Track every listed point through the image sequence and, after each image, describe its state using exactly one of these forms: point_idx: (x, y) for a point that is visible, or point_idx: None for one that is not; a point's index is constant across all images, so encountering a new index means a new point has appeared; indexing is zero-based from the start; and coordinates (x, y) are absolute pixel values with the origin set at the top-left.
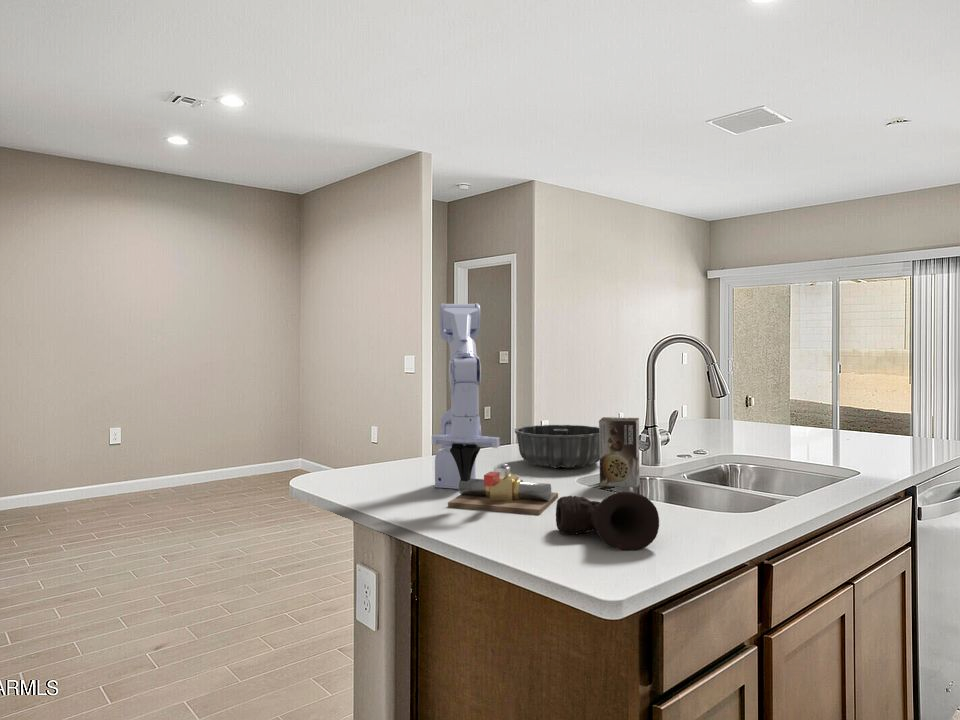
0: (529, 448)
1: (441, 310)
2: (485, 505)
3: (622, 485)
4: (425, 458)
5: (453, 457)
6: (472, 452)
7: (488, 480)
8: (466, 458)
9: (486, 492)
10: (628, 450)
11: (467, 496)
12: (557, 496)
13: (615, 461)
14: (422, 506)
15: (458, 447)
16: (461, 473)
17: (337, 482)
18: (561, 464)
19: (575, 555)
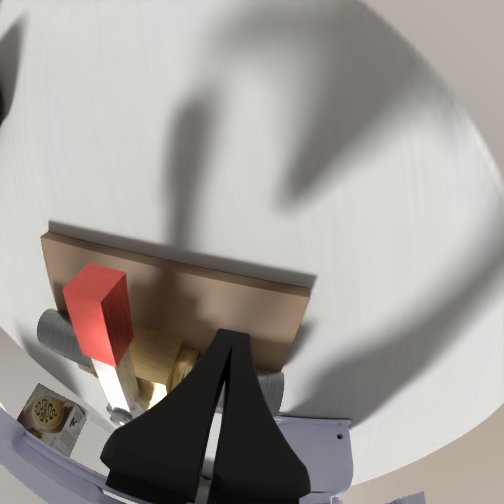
0: (200, 494)
1: None
2: (172, 269)
3: (50, 391)
4: (351, 484)
5: (283, 435)
6: (111, 435)
7: (94, 281)
8: (178, 416)
9: (191, 355)
10: (24, 423)
11: (257, 359)
12: None
13: (43, 419)
14: (388, 285)
15: (243, 500)
16: (239, 355)
17: (489, 395)
18: None
19: (5, 2)
